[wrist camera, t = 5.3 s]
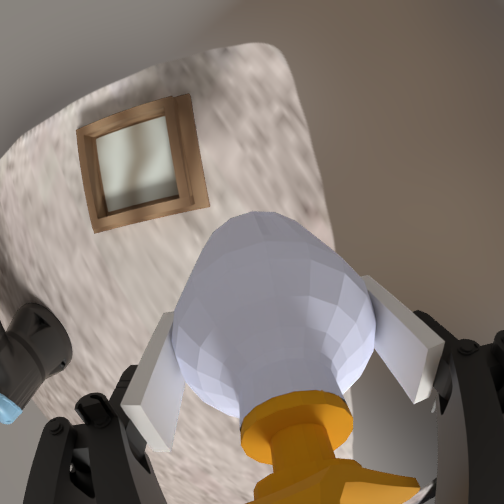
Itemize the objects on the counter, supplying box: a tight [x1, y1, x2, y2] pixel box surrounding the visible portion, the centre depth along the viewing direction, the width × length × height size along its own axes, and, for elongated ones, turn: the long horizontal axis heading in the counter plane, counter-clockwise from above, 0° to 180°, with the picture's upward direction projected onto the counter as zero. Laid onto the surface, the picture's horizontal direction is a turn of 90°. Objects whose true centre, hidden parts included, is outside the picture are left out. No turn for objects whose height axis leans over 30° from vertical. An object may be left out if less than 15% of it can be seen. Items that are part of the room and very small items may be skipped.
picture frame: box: [76, 94, 210, 234], centre depth 33 cm, size 18×16×4 cm
